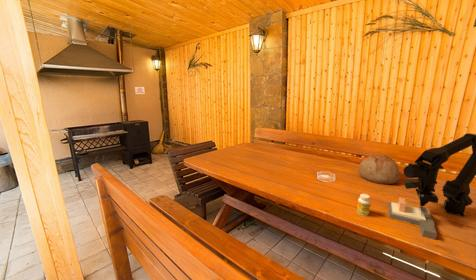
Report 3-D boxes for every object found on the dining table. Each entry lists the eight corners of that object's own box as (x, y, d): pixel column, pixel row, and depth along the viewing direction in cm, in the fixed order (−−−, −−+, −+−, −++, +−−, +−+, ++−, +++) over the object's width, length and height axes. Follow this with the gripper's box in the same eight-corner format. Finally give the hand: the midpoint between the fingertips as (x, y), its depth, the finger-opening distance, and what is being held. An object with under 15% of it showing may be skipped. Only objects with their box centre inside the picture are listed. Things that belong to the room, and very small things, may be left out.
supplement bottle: (364, 209, 105) (366, 192, 103) (371, 215, 100) (374, 198, 98) (354, 210, 105) (356, 193, 103) (360, 216, 100) (363, 198, 98)
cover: (421, 210, 100) (423, 200, 99) (425, 221, 92) (428, 211, 90) (391, 203, 106) (392, 194, 105) (392, 213, 98) (394, 203, 97)
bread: (360, 167, 159) (362, 148, 155) (397, 173, 146) (401, 154, 142) (355, 179, 138) (358, 159, 134) (399, 189, 125) (403, 166, 121)
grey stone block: (427, 211, 97) (428, 208, 96) (429, 217, 93) (430, 213, 92) (418, 209, 98) (419, 206, 98) (420, 215, 94) (421, 211, 94)
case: (428, 215, 100) (429, 209, 99) (438, 240, 83) (440, 234, 83) (388, 205, 108) (388, 200, 107) (390, 227, 92) (391, 221, 91)
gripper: (404, 167, 108) (399, 193, 112) (408, 180, 93) (402, 210, 97) (432, 171, 102) (426, 199, 106) (442, 186, 87) (434, 218, 91)
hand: (421, 206), depth 101 cm, fingers closed
